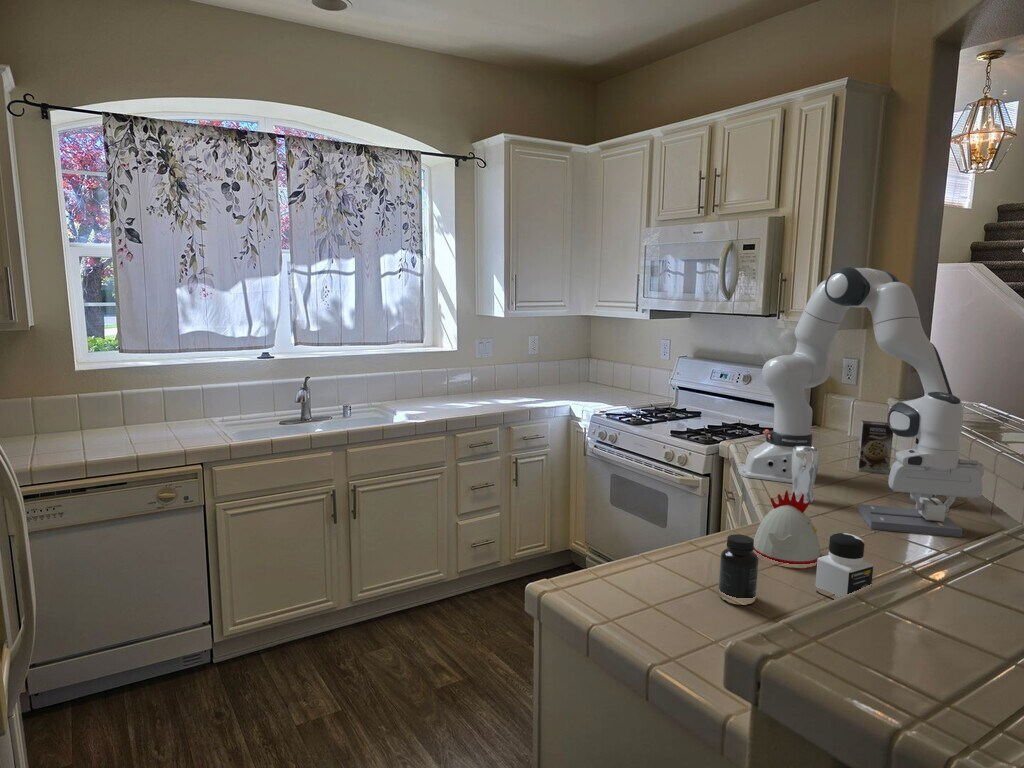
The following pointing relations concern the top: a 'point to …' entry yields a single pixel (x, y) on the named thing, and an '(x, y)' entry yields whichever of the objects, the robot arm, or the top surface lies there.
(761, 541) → the kitchen timer
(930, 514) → the fader knob
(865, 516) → the fader panel
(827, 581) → the medicine bottle
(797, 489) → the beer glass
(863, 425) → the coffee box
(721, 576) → the supplement bottle
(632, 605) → the top surface
